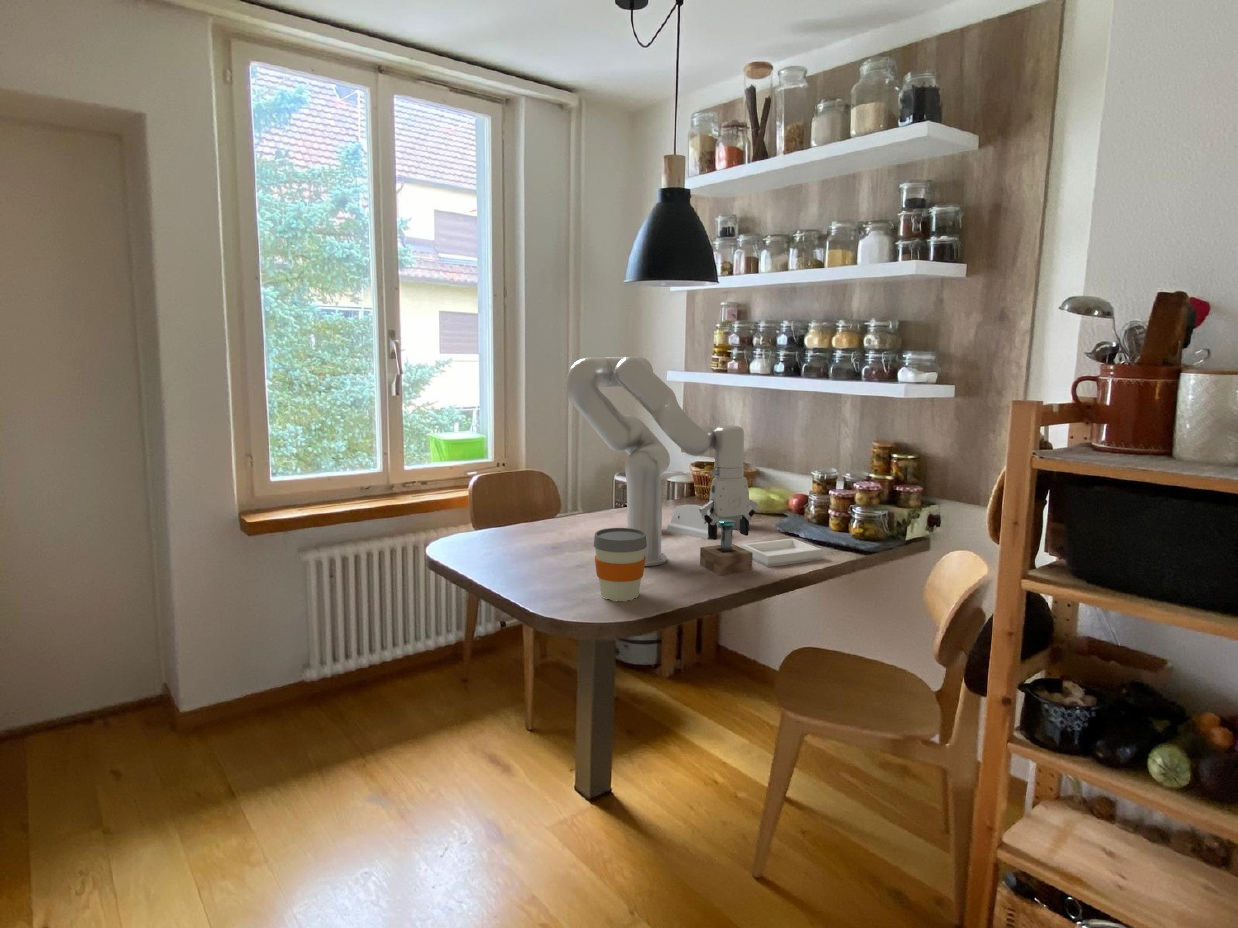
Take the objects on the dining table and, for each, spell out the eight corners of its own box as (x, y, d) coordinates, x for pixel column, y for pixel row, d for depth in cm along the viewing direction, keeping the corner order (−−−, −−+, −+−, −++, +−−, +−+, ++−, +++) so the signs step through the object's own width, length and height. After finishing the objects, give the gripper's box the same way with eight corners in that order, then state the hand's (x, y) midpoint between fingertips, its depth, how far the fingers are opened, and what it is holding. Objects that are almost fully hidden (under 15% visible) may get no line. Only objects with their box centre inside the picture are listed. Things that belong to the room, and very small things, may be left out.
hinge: (665, 530, 240) (672, 500, 241) (673, 532, 244) (680, 502, 245) (708, 539, 229) (715, 507, 230) (716, 541, 233) (723, 510, 234)
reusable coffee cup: (617, 583, 186) (617, 524, 184) (656, 594, 178) (657, 533, 176) (582, 595, 177) (582, 534, 175) (622, 608, 169) (623, 543, 167)
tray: (767, 566, 201) (767, 556, 201) (740, 554, 213) (741, 544, 212) (821, 559, 208) (821, 549, 208) (792, 548, 220) (793, 538, 220)
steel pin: (722, 571, 197) (724, 524, 195) (713, 566, 201) (715, 520, 199) (737, 569, 199) (739, 522, 197) (728, 564, 203) (729, 518, 201)
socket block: (719, 575, 193) (719, 556, 193) (699, 565, 202) (700, 547, 202) (751, 571, 197) (752, 552, 197) (731, 561, 206) (731, 543, 206)
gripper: (707, 477, 189) (707, 543, 191) (765, 472, 196) (764, 536, 198) (693, 473, 196) (693, 537, 198) (748, 468, 203) (748, 530, 205)
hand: (728, 536), depth 198 cm, fingers open, 9 cm apart
